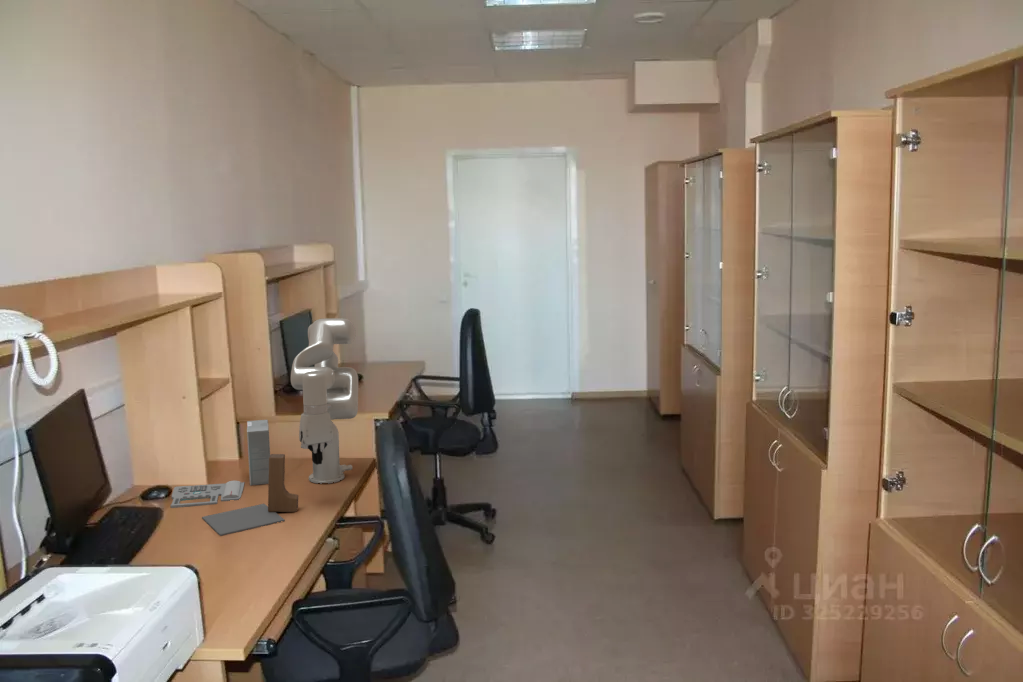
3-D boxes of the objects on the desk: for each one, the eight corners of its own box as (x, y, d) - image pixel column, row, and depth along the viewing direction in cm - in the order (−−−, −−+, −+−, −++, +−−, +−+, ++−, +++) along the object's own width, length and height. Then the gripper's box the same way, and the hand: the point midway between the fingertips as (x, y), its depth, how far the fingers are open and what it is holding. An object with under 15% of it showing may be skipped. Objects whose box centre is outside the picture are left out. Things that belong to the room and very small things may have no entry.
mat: (264, 505, 269) (264, 503, 269) (284, 521, 255) (284, 519, 255) (202, 518, 257) (201, 516, 257) (220, 536, 243) (220, 534, 243)
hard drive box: (249, 472, 302) (247, 420, 299) (271, 471, 305) (268, 419, 302) (249, 486, 288) (246, 431, 285) (272, 483, 290) (269, 429, 287)
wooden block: (298, 507, 266) (299, 453, 264) (296, 512, 262) (297, 457, 260) (269, 507, 265) (270, 453, 263) (267, 512, 261) (268, 457, 258)
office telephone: (244, 478, 291) (241, 496, 272) (244, 485, 291) (242, 504, 272) (174, 482, 284) (166, 501, 265) (174, 490, 285) (167, 509, 266)
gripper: (331, 403, 273) (333, 456, 276) (289, 410, 264) (291, 464, 267) (341, 408, 267) (343, 462, 270) (298, 414, 258) (300, 470, 261)
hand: (317, 463), depth 269 cm, fingers closed
